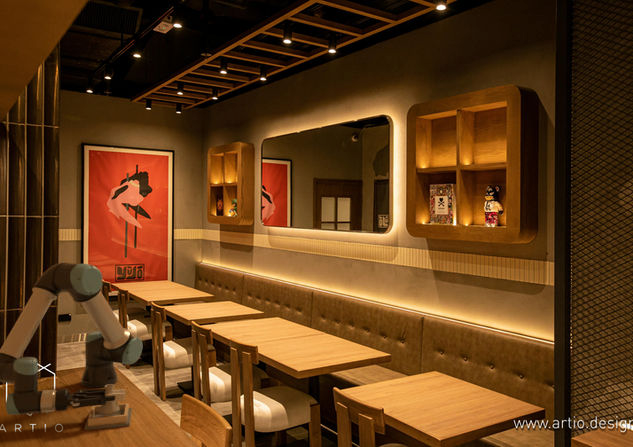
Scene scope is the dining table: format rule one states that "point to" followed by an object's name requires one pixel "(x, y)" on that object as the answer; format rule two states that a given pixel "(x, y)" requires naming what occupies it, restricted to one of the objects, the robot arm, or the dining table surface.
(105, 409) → the flask
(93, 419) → the holder
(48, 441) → the dining table surface
